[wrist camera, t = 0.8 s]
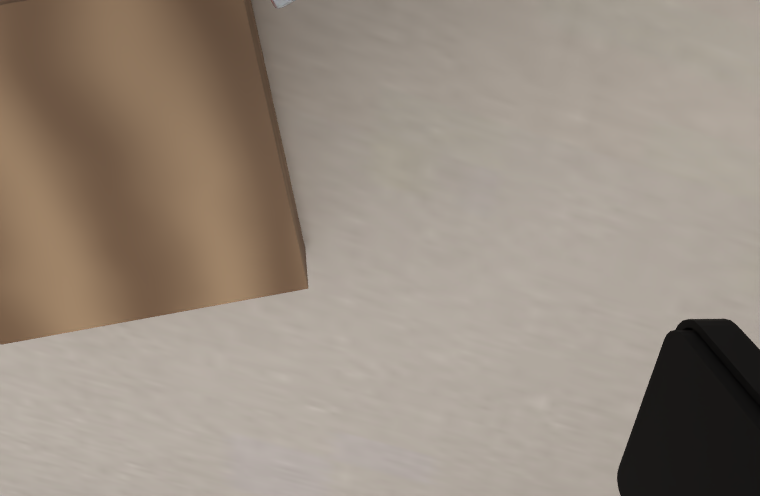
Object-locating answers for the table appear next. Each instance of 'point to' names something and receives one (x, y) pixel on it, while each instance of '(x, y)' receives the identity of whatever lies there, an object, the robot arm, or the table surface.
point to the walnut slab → (137, 164)
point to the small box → (281, 3)
